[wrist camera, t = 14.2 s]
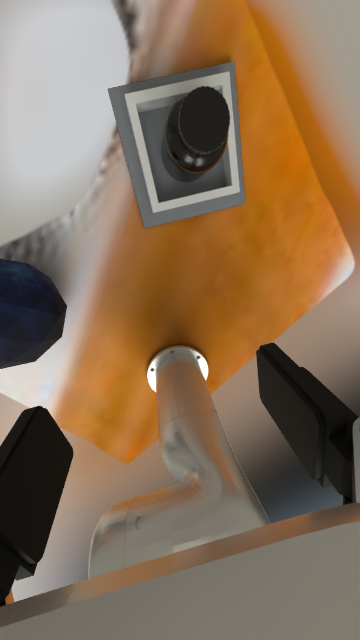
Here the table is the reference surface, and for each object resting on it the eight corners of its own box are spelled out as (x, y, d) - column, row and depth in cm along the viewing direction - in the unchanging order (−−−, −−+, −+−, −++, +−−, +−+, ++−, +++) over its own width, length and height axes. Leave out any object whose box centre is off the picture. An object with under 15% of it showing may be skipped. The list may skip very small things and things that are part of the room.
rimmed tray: (242, 204, 35) (252, 202, 32) (144, 228, 35) (144, 229, 32) (231, 66, 28) (242, 47, 25) (108, 93, 28) (104, 76, 25)
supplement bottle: (168, 113, 29) (181, 48, 18) (216, 136, 30) (255, 89, 20) (154, 173, 31) (158, 148, 20) (199, 191, 33) (226, 176, 22)
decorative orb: (-101, 272, 28) (-131, 384, 21) (-4, 210, 27) (-1, 306, 20) (8, 317, 40) (12, 395, 34) (78, 276, 39) (97, 348, 32)
